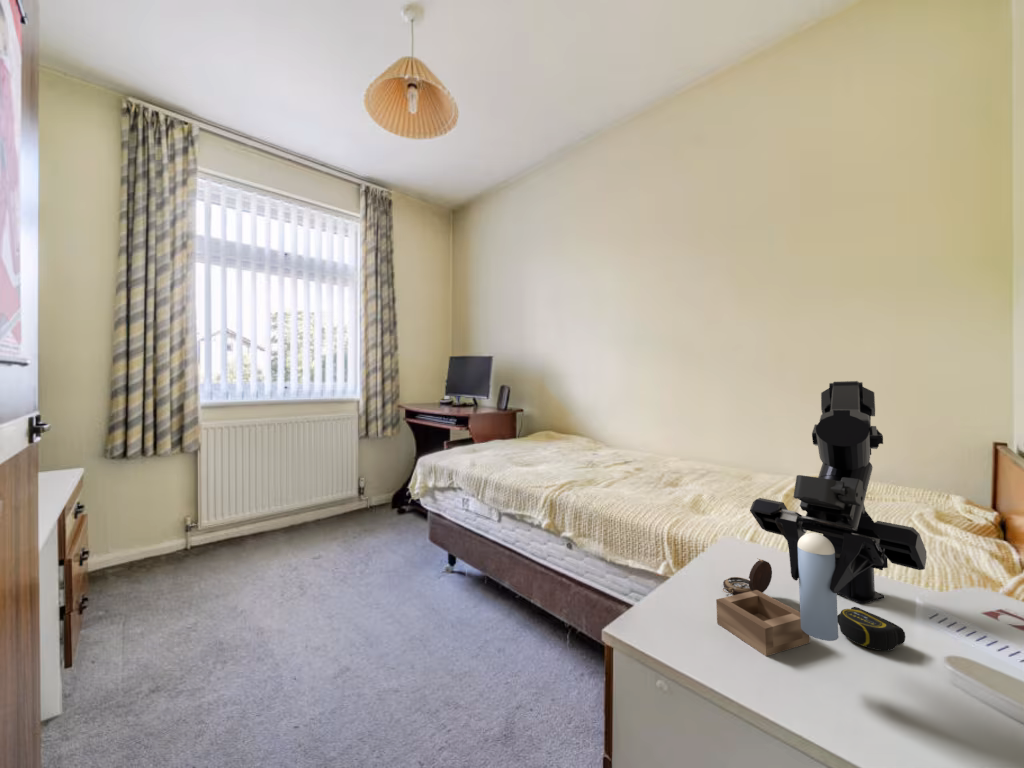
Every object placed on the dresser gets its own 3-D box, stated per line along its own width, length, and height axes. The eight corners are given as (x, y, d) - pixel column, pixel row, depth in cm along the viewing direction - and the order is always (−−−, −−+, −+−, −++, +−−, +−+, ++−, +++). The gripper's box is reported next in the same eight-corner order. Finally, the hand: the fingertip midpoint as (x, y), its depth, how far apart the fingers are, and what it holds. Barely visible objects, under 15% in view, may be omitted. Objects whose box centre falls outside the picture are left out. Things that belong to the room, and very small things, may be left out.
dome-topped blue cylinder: (814, 620, 56) (810, 527, 57) (845, 636, 53) (841, 536, 53) (793, 626, 55) (789, 531, 55) (824, 643, 51) (820, 541, 52)
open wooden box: (757, 612, 71) (756, 589, 71) (809, 642, 62) (808, 616, 62) (717, 623, 68) (716, 599, 68) (766, 656, 59) (765, 628, 59)
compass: (735, 579, 83) (734, 544, 83) (775, 596, 76) (773, 557, 76) (709, 589, 80) (708, 552, 80) (749, 608, 73) (748, 567, 73)
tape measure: (909, 650, 60) (908, 625, 60) (878, 660, 58) (876, 634, 58) (857, 625, 67) (856, 602, 67) (828, 634, 65) (827, 610, 65)
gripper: (753, 446, 64) (718, 531, 58) (916, 462, 49) (892, 580, 42) (778, 488, 69) (747, 571, 62) (935, 514, 53) (916, 629, 47)
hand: (812, 584), depth 53 cm, fingers closed on dome-topped blue cylinder, 4 cm apart
